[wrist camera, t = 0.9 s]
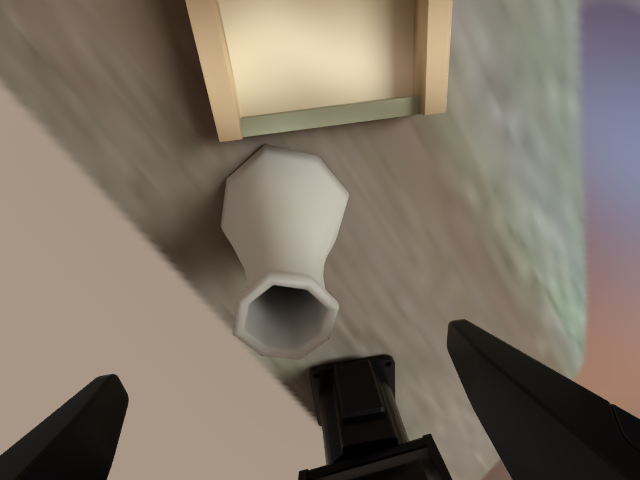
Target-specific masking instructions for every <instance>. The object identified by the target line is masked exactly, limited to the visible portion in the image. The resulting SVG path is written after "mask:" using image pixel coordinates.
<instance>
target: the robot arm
mask: <svg viewBox="0 0 640 480" xmlns="http://www.w3.org/2000/svg"><path fill="white" fill-rule="evenodd" d="M447 349H448V352H449V354H450V357H451V359H452V361H453V364H454V366H455V368H456V371H457V373H458V375H459V378H460V380H461V382H462V385H463V387H464V389H465V392H466V394H467V396H468V399H469V401H470V403H471V405H472V407H473V409H474V411H475V413H476V415H477V417H478V418H479V420H480V422H481V424H482V426H483V427H484V429H485V431H486V433H487V435H488V436H489V438H490V440H491V442H492V444H493V445H494V447H495V449H496V451H497V453H498V454H499V456H500V458H501V460H502V462H503V463H504V465H505V467H506V469H507V471H508V472H509V474H510V476H511V478H512V479H513V480H640V419H639V418H637V417H635V416H633V415H631V414H630V413H628V412H626V411H625V410H623V409H621V408H619V407H617V406H616V405H614V404H611V405H610V403H609V402H608V401H607V400H605V399H603V398H602V397H600V396H598V395H596V394H595V393H593V392H591V391H589V390H588V389H586V388H584V387H582V386H580V385H579V384H577V383H575V382H574V381H572V380H570V379H568V378H567V377H565V376H563V375H561V374H560V373H558V372H556V371H554V370H553V369H551V368H549V367H547V366H546V365H544V364H542V363H541V362H539V361H537V360H535V359H534V358H532V357H530V356H528V355H527V354H525V353H523V352H521V351H520V350H518V349H516V348H514V347H513V346H511V345H509V344H507V343H506V342H504V341H502V340H500V339H499V338H497V337H495V336H493V335H492V334H490V333H488V332H486V331H485V330H483V329H481V328H479V327H478V326H476V325H474V324H472V323H471V322H469V321H467V320H465V319H461V320H454V321H451V322H449V325H448V335H447ZM386 362H387V363H386ZM316 373H318V374H316ZM309 374H310V381H311V387H312V392H313V398H314V403H315V409H316V415H317V420H318V424H319V425H320V426H322V431H323V439H324V448H325V457H326V465H325V466H322V467H318V468H315V469H311V470H308V469H306V470H302V471H299V477H298V480H452V478H451V476H450V474H449V472H448V469H447V467H446V465H445V463H444V461H443V459H442V457H441V455H440V452H439V450H438V448H437V446H436V444H435V442H434V440H433V438H432V435H431V434H427V435H423V436H422V438H419V439H415V440H412V441H409V439H408V436H407V433H406V431H405V428H404V425H403V422H402V419H401V416H400V413H399V411H398V408H397V405H396V402H395V362H394V360H393V357H392V356H390V355H386V356H380V357H373V358H367V359H361V360H355V361H349V362H342V363H336V364H330V365H324V366H318V367H313V368H311V369H310V372H309ZM128 401H129V399H128V394H127V392H126V390H125V388H124V386H123V385H122V383H121V381H120V379H119V378H118V376H117V375H115V374H110V375H104V376H99V377H97V378H95V379H94V380H93V381H92V382H90V383H89V384H88V385H87V386H86V387H84V388H83V389H82V390H81V391H79V392H78V393H77V394H76V395H75V396H73V397H72V398H71V399H69V400H68V401H67V402H66V403H65V404H63V405H62V406H61V407H60V408H58V409H57V410H56V411H55V412H53V413H52V414H51V415H50V416H49V417H47V418H46V419H45V420H44V421H42V422H41V423H40V424H39V425H38V426H36V427H35V428H34V429H32V430H31V431H30V432H29V433H28V434H26V435H25V436H24V437H23V438H21V439H20V440H19V441H18V442H16V443H15V444H14V445H13V446H12V447H10V448H9V449H8V450H7V451H5V452H4V453H3V454H2V455H0V480H107V477H108V474H109V471H110V468H111V466H112V462H113V459H114V455H115V452H116V448H117V444H118V440H119V437H120V433H121V429H122V425H123V421H124V418H125V414H126V410H127V407H128Z"/></svg>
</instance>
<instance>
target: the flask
mask: <svg viewBox="0 0 640 480" xmlns="http://www.w3.org/2000/svg"><path fill="white" fill-rule="evenodd" d="M348 198H349V193H348V192H347V191H346V189H345V188H344V187H343V186H342V185H341V183H340V182H339V181H338V180H337V178H336V177H335V176H334V175H333V174H332V172H331V171H330V170H329V169H328V168H327V166H326V165H325V164H324V163H323V161H322V160H321V159H320V158H319V157H318V156H316V155H311V154H307V153H303V152H298V151H294V150H290V149H285V148H281V147H276V146H272V145H268V144H265V145H263V146H262V147H261V148H260V149H259V150H258V151H257V152H256V153H255V154H254V155H252V156H251V157H250V158H249V159H248V160H247V161H246V162H245V163H244V164H243V165H241V166H240V167H239V168H238V169H237V170H236V171H235V172H234V173H233V174H232V175H230V176H229V177H228V178H227V179H226V187H225V196H224V204H223V212H222V220H221V228H222V230H223V232H224V234H225V235H226V237H227V238H228V240H229V241H230V243H231V245H232V246H233V248H234V250H235V252H236V254H237V256H238V258H239V260H240V262H241V264H242V265H243V267H244V269H245V274H246V281H247V289H246V290H245V291H243V292H242V293H241V295H240V296H239V300H238V306H237V312H236V318H235V324H234V330H233V335H234V336H236V337H237V338H238V339H240V340H241V341H242V342H244V343H245V344H247V345H248V346H249V347H251V348H252V349H253V350H255V351H256V352H257V353H259V354H260V355H261V356H269V357H279V358H289V359H298V360H300V359H301V358H303V357H304V356H305V355H307V354H308V353H310V352H311V351H313V350H314V349H315V348H317V347H318V346H320V345H321V344H323V343H324V342H325V341H327V340H328V339H329V337H330V334H331V331H332V328H333V325H334V322H335V319H336V316H337V313H338V310H339V305H338V302H337V301H336V300H335V299H334V298H333V297H332V296H331V295H330V294H329V293H328V292H327V291H326V290H325V285H324V279H323V269H324V262H325V260H326V258H327V256H328V254H329V252H330V250H331V248H332V247H333V245H334V243H335V241H336V239H337V235H338V232H339V228H340V225H341V222H342V218H343V215H344V211H345V208H346V204H347V201H348Z"/></svg>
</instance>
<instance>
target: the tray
mask: <svg viewBox="0 0 640 480" xmlns="http://www.w3.org/2000/svg"><path fill="white" fill-rule="evenodd" d="M185 2H186V6H187V10H188V14H189V18H190V22H191V26H192V30H193V34H194V38H195V43H196V47H197V51H198V55H199V59H200V63H201V67H202V71H203V75H204V79H205V84H206V88H207V92H208V96H209V100H210V104H211V108H212V112H213V116H214V121H215V125H216V129H217V133H218V137H219V141H220V142H224V141H232V140H240V139H242V138H243V137H249V136H256V135H264V134H271V133H279V132H287V131H294V130H302V129H310V128H317V127H325V126H333V125H340V124H348V123H355V122H363V121H371V120H378V119H386V118H394V117H401V116H409V115H417V114H422V115H430V114H438V113H445V112H446V103H447V86H448V69H449V52H450V35H451V19H452V2H453V0H185Z"/></svg>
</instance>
